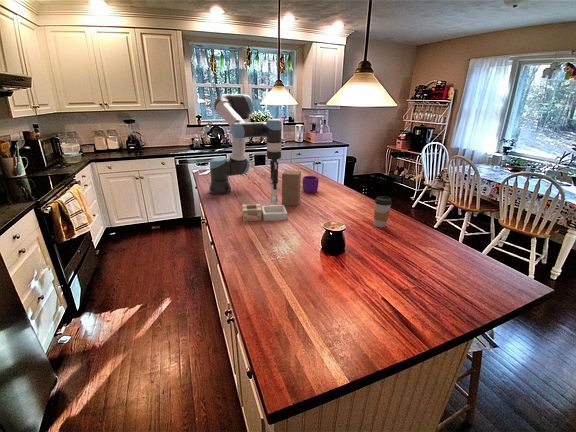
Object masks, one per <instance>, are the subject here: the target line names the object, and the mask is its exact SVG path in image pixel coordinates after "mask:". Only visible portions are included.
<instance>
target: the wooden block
mask: <svg viewBox="0 0 576 432" xmlns="http://www.w3.org/2000/svg"><path fill="white" fill-rule="evenodd" d="M301 174H302V171H301V170H290V169H289V170H287V169H286V170H284V171H283V172H282V174H281V205H284V206H293V207H294V206H295V207H298V205H299V203H300V201H301V184H302V183H301V182H302V181H301V180H302V179H301V178H302V177H301V176H302V175H301Z"/></svg>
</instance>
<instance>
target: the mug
mask: <svg viewBox="0 0 576 432" xmlns="http://www.w3.org/2000/svg"><path fill="white" fill-rule="evenodd" d="M302 190H303V192H304V193H307V194H313V193H316V192H317V191H318V190H319V177H318V176H314V175H305V176H303V177H302Z"/></svg>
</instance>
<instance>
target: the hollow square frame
mask: <svg viewBox="0 0 576 432" xmlns="http://www.w3.org/2000/svg"><path fill="white" fill-rule="evenodd" d="M241 206H242V207H241V208H242V221H243V222H249V221H250V222H251V221H252V220H254V221H255V222H256V221H262V220H263V216H262V205H261V203H243V204H242V205H241ZM252 222H253V221H252Z"/></svg>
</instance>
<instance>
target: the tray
mask: <svg viewBox="0 0 576 432" xmlns="http://www.w3.org/2000/svg"><path fill="white" fill-rule="evenodd" d="M261 210H262V220H263V222H269V221H270V222H273V221H275V222H276V221H287V220H288V211H287V209H286V206H285V205H282V204H278V205H277V204H276V205H275V204H273V205H261Z"/></svg>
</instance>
